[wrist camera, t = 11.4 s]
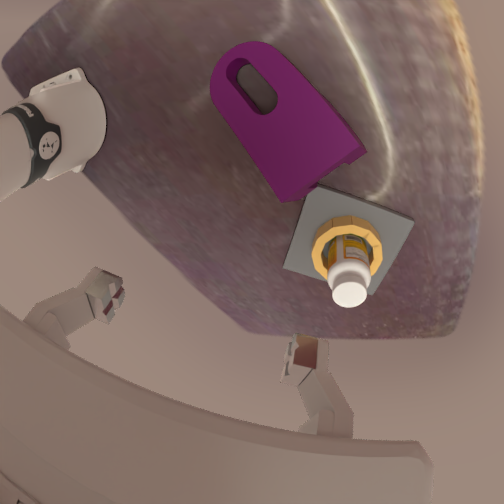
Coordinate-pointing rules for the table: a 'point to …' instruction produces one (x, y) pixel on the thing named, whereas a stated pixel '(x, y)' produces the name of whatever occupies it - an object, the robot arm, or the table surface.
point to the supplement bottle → (348, 269)
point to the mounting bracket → (283, 122)
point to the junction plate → (344, 206)
